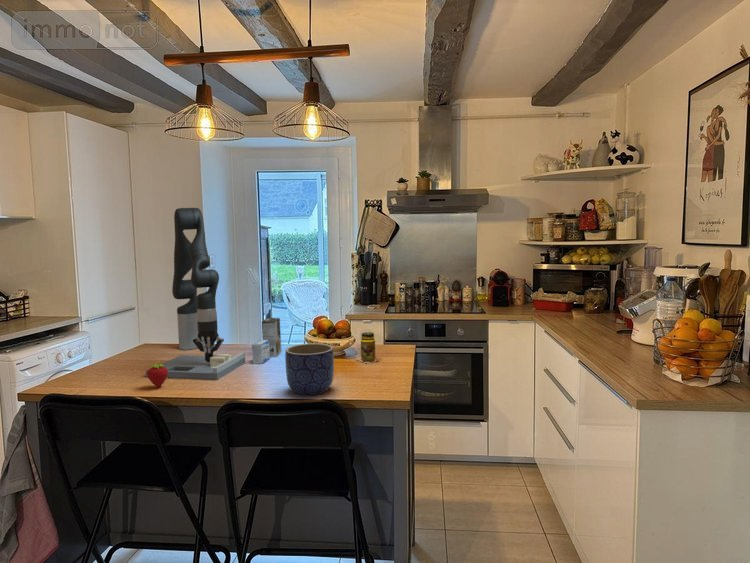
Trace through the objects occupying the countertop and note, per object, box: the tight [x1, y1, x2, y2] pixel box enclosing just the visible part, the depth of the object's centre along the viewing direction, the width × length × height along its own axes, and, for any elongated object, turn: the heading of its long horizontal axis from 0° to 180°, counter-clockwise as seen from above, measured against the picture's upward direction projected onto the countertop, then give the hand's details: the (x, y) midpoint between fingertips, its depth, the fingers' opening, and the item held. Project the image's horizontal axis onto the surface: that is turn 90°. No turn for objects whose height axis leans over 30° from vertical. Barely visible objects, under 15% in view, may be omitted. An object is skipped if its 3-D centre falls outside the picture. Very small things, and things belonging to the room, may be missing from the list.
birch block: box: [210, 353, 232, 367], centre depth 195 cm, size 6×6×4 cm
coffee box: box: [261, 317, 282, 358], centre depth 219 cm, size 9×6×16 cm
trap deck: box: [144, 352, 246, 381], centre depth 197 cm, size 24×30×4 cm
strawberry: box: [147, 360, 168, 388], centre depth 175 cm, size 6×8×10 cm
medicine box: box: [251, 339, 271, 365], centre depth 208 cm, size 8×4×9 cm, turn 168°
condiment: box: [360, 332, 376, 363], centre depth 206 cm, size 7×8×12 cm
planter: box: [284, 342, 335, 395], centre depth 168 cm, size 17×17×15 cm
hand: (209, 361), depth 196 cm, fingers closed
